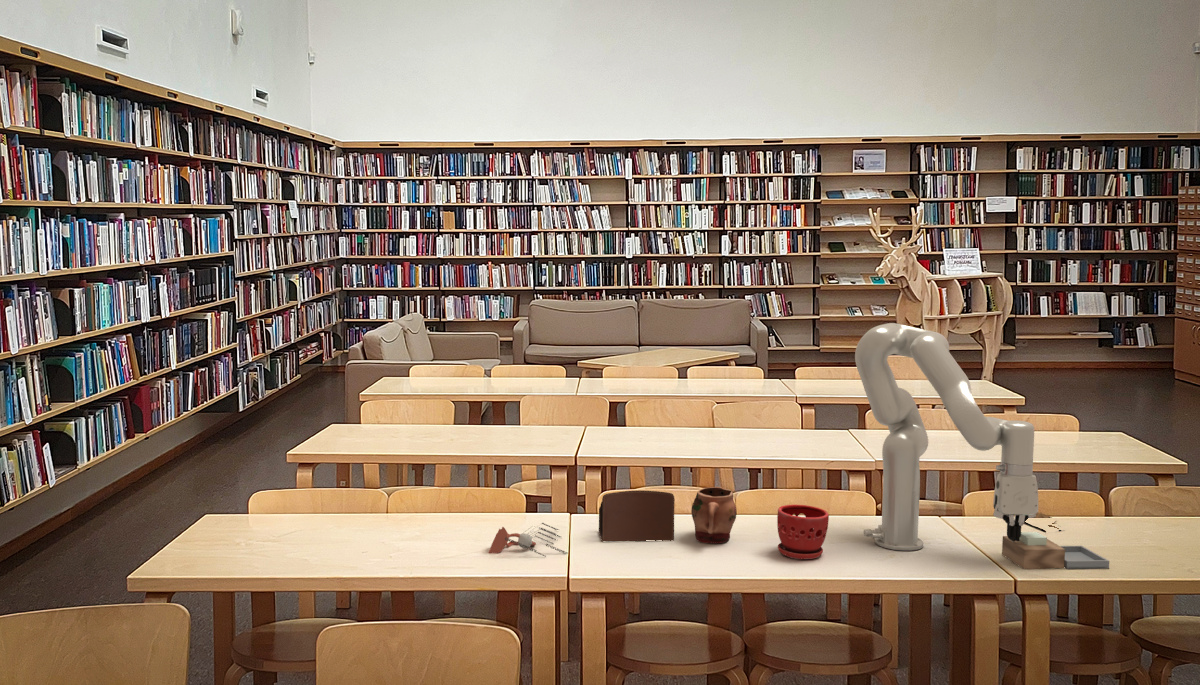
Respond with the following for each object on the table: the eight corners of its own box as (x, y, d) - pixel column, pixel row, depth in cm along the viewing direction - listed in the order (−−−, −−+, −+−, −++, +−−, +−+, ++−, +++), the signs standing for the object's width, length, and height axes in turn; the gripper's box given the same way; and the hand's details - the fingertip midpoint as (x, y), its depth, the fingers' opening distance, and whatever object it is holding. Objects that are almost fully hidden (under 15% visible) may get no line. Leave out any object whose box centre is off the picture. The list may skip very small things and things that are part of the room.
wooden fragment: (1067, 535, 290) (1068, 531, 290) (1026, 532, 292) (1026, 529, 292) (1046, 512, 315) (1047, 508, 315) (1009, 510, 317) (1009, 506, 317)
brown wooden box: (1023, 569, 258) (1024, 549, 258) (1001, 554, 270) (1002, 536, 270) (1064, 568, 259) (1065, 549, 258) (1040, 554, 271) (1041, 535, 270)
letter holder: (674, 541, 279) (675, 490, 278) (601, 542, 278) (602, 491, 276) (668, 531, 289) (669, 482, 288) (598, 532, 288) (598, 483, 286)
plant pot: (787, 564, 260) (788, 517, 259) (769, 548, 273) (770, 504, 272) (835, 561, 263) (837, 515, 262) (815, 546, 276) (816, 502, 275)
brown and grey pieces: (499, 529, 262) (508, 501, 287) (486, 560, 264) (496, 528, 288) (573, 561, 264) (575, 529, 288) (559, 591, 265) (563, 557, 289)
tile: (1027, 545, 261) (1028, 537, 261) (1018, 539, 266) (1018, 532, 266) (1046, 545, 262) (1047, 537, 261) (1036, 539, 267) (1037, 532, 266)
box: (1066, 569, 258) (1067, 561, 258) (1041, 553, 271) (1041, 546, 271) (1108, 568, 259) (1109, 560, 259) (1081, 553, 272) (1081, 545, 272)
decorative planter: (737, 553, 269) (738, 501, 268) (690, 551, 270) (691, 499, 269) (734, 531, 289) (735, 483, 288) (690, 530, 290) (691, 481, 289)
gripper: (994, 473, 257) (991, 544, 259) (1052, 472, 258) (1049, 543, 260) (981, 466, 265) (978, 536, 267) (1037, 466, 266) (1034, 535, 268)
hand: (1013, 539), depth 263 cm, fingers closed
